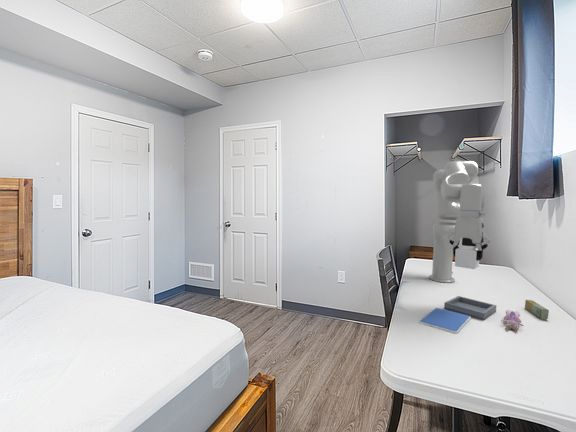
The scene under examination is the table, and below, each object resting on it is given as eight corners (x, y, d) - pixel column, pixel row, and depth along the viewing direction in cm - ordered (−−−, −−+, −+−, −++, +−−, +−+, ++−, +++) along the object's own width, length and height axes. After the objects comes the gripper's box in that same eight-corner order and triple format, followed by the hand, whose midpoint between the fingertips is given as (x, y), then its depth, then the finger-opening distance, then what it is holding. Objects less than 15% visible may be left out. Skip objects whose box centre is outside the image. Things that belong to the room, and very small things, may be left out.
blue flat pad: (456, 336, 97) (457, 332, 97) (417, 324, 106) (417, 320, 106) (471, 319, 111) (471, 316, 111) (435, 310, 120) (435, 307, 120)
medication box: (548, 320, 111) (549, 310, 111) (539, 319, 112) (540, 309, 112) (531, 309, 123) (532, 299, 122) (523, 308, 123) (524, 299, 123)
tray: (458, 301, 129) (458, 295, 129) (496, 311, 119) (496, 305, 118) (444, 308, 120) (444, 302, 120) (483, 320, 110) (484, 313, 109)
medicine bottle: (478, 266, 121) (480, 237, 121) (474, 269, 116) (476, 238, 116) (459, 263, 126) (460, 235, 126) (454, 266, 121) (456, 236, 120)
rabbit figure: (523, 338, 99) (523, 317, 110) (524, 322, 98) (524, 302, 109) (499, 333, 103) (502, 313, 114) (500, 317, 101) (503, 298, 113)
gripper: (498, 216, 116) (495, 261, 117) (450, 213, 129) (448, 254, 130) (491, 216, 111) (488, 263, 112) (443, 213, 124) (440, 255, 125)
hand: (467, 258), depth 121 cm, fingers closed on medicine bottle, 7 cm apart
